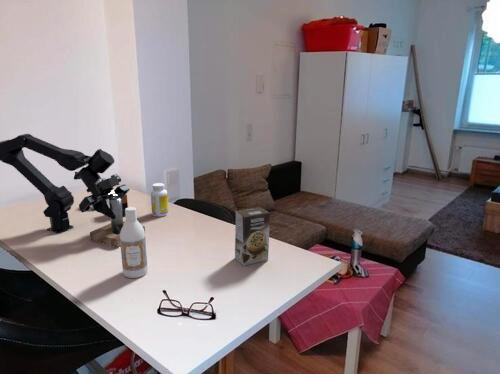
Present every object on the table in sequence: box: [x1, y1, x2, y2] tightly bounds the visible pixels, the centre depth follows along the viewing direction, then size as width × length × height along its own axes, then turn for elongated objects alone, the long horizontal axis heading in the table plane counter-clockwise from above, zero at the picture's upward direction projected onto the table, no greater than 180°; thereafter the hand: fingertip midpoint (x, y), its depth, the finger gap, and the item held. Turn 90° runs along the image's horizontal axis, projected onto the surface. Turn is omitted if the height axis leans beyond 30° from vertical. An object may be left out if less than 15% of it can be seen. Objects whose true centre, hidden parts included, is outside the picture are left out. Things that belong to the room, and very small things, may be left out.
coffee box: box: [234, 206, 271, 267], centre depth 117 cm, size 9×6×16 cm
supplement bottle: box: [150, 182, 169, 218], centre depth 154 cm, size 7×7×13 cm
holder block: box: [89, 220, 146, 249], centre depth 134 cm, size 13×13×3 cm
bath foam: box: [120, 206, 148, 279], centre depth 107 cm, size 7×7×20 cm
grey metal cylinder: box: [109, 197, 124, 235], centre depth 132 cm, size 4×4×13 cm
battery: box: [121, 194, 129, 217], centre depth 154 cm, size 4×7×10 cm, turn 38°
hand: (119, 216), depth 131 cm, fingers closed on grey metal cylinder, 4 cm apart
